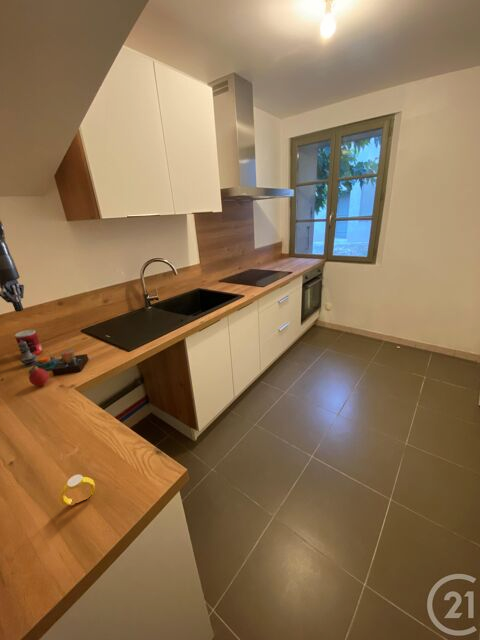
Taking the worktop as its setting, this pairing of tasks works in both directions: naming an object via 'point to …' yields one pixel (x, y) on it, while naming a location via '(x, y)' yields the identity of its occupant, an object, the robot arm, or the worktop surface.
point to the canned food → (30, 341)
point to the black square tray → (70, 365)
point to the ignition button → (44, 359)
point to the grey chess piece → (26, 355)
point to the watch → (74, 483)
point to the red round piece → (38, 376)
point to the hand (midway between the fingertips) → (19, 310)
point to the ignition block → (46, 364)
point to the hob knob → (68, 356)
